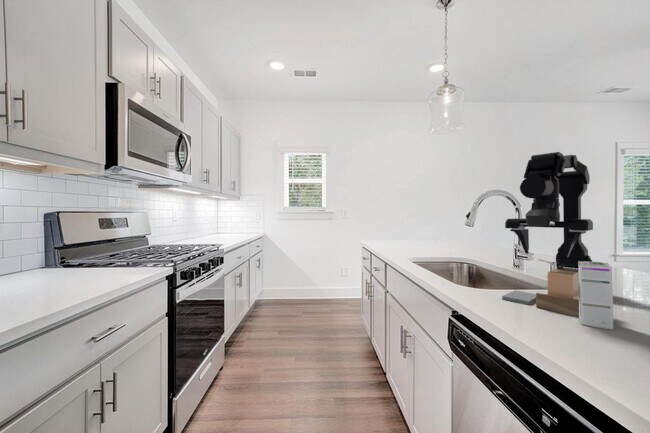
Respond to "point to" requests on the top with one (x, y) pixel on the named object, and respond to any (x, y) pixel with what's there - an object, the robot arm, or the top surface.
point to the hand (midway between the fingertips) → (545, 255)
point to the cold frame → (557, 304)
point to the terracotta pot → (563, 284)
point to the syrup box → (595, 294)
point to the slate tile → (520, 297)
